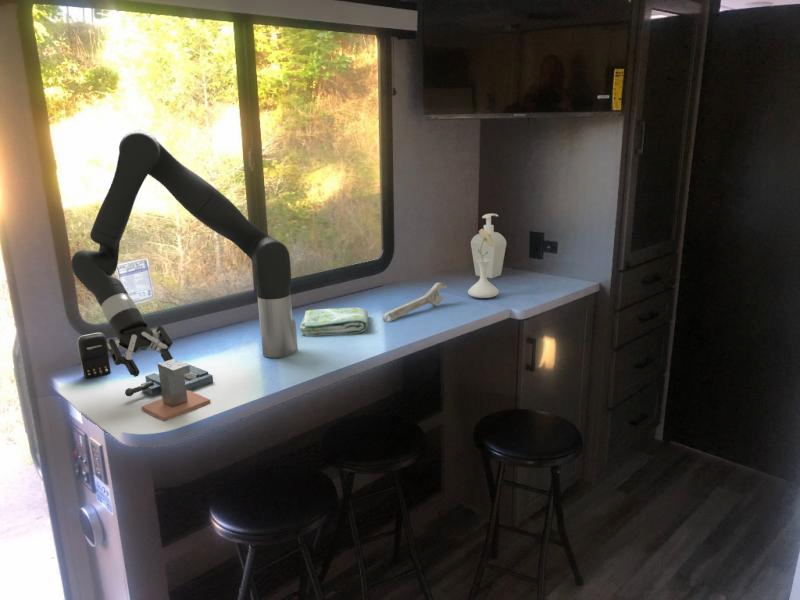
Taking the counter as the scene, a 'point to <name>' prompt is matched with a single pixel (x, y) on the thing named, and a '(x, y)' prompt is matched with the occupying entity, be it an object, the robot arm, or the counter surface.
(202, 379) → the vise
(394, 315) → the wrench
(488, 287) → the flower in vase
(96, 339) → the battery charger
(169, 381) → the gray rectangular prism
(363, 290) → the counter surface
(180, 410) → the mat
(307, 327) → the towel
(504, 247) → the soap bottle
